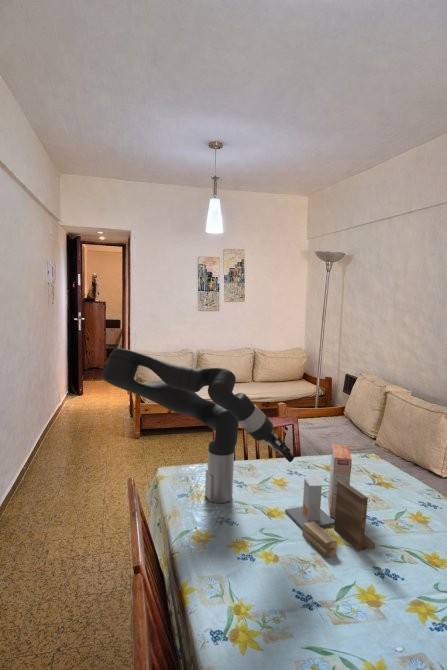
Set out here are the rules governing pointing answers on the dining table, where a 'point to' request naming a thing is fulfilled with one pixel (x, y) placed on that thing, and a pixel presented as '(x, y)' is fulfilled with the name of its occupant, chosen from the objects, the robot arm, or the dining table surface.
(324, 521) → the slate pad
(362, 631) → the dining table surface
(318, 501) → the skincare box
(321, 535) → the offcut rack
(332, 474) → the cracker box
